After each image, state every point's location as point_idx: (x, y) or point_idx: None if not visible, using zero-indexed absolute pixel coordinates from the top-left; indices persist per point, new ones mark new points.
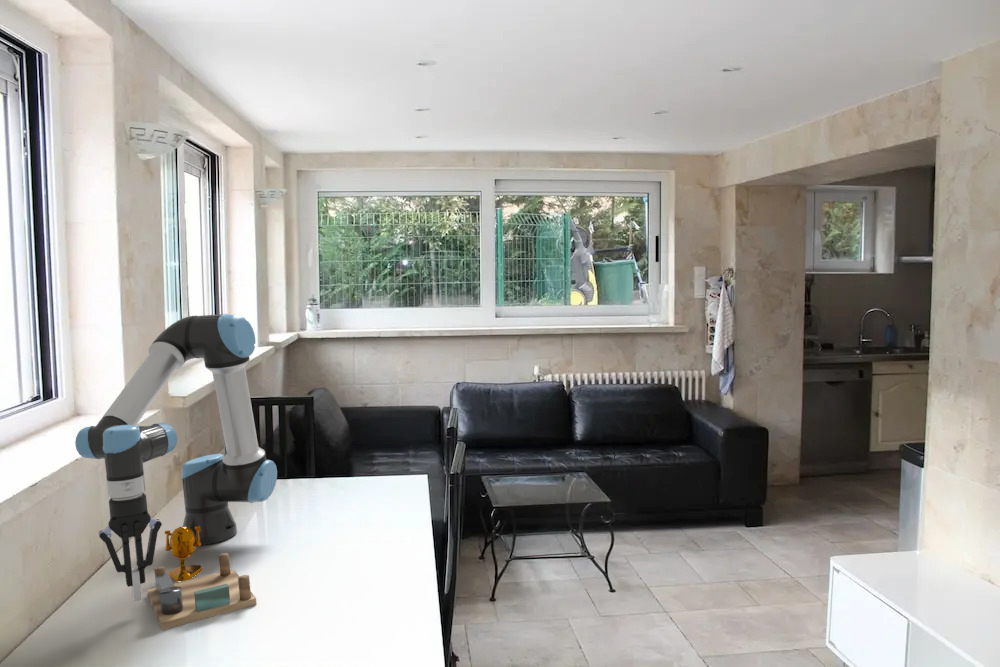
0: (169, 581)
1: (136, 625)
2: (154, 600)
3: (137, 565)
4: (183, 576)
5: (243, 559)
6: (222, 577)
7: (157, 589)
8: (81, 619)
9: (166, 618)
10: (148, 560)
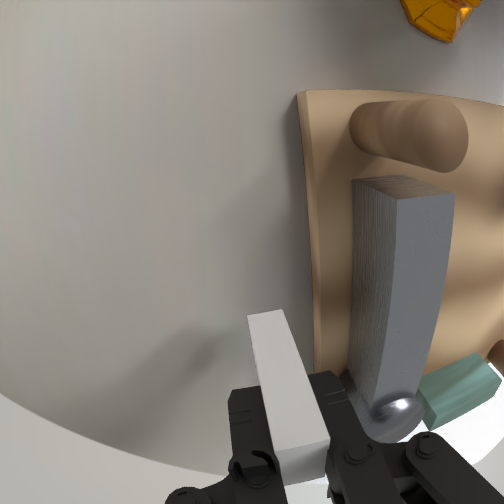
0: (428, 320)
1: (248, 376)
2: (330, 265)
3: (334, 473)
4: (441, 23)
5: None
6: None
7: (364, 229)
8: (39, 238)
9: None
10: (404, 498)
